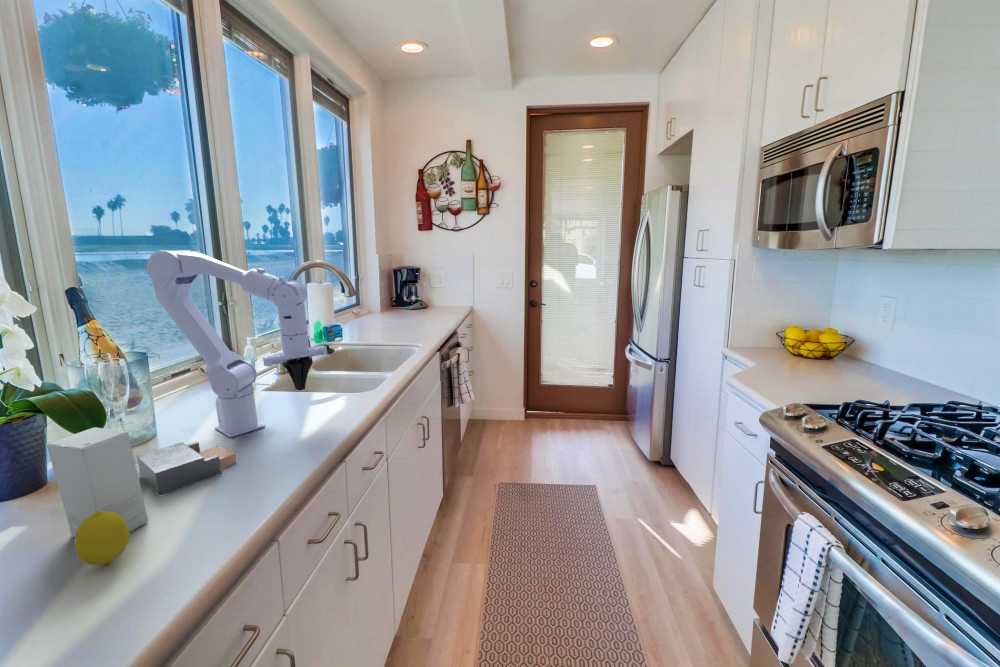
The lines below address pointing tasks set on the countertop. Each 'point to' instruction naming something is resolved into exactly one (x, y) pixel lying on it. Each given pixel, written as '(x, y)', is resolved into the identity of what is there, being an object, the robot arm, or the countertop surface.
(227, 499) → the countertop surface
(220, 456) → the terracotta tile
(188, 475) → the low gray notched block
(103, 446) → the skincare box
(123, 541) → the lemon
